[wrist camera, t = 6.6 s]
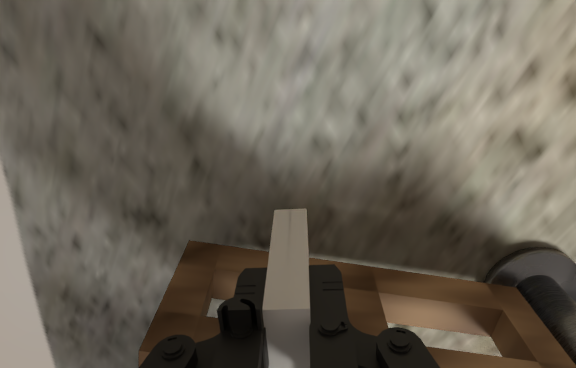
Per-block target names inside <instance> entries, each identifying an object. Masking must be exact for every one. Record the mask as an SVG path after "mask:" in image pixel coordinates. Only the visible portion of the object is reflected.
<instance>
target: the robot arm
mask: <svg viewBox="0 0 576 368" xmlns="http://www.w3.org/2000/svg"><path fill="white" fill-rule="evenodd" d="M217 314H218V320H219V326H220V333H219V334H218V335H216V336H214V337H212V338H210V339H207V340H204V341H200V342H197V343H195V342H194V340H193V339H192V338H191V337H189V336H186V335H172V336H169V337H166V338H165V339H163V340H161V341H159V342H158V343H157V344H156V345H155V346H154V348H153V349H152V350H151V352H150V353H149V354H148V356H147V357H146V359H145V360H144V361H143V363H142V364H141V365H140V367H139V368H440V367H439V365H438V364H437V362H436V361H435V359H434V358H433V357H432V355H431V354H430V352H429V351H428V349H427V348H426V346H425V345H424V344H423V342H422V341H421V339H420V338H419V337H418V336H417V335H416V334H415V333H413V332H411V331H409V330H407V329H403V328H399V327H396V328H388V329H386V330H383V331H382V332H381V333H380V334H379V335H378V336H374V335H370V334H366V333H363V332H361V331H359V330H357V329H356V328H355V327H354V326H352V324H351V323H350V321H349V318H348V313H347V307H346V300H345V294H344V287H343V281H342V274H341V271H340V270H339V269H338V268H337V267H336V265H335V264H326V265H309V249H308V227H307V209H283V210H274V218H273V226H272V234H271V242H270V251H269V259H268V267H266V268H245V269H244V270H243V271H242V273H241V274H240V275H239V276H238V279H237V284H236V288H235V293H234V297H233V298H230V299H228V300H226V301H224V302H223V303H222V304H221V305H220V306H219V308H218V310H217Z"/></svg>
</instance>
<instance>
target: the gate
mask: <svg viewBox="0 0 576 368" xmlns="http://www.w3.org/2000/svg"><path fill="white" fill-rule="evenodd" d="M268 259H269V252H266V251H259V250H252V249H246V248H239V247H232V246H225V245H218V244H211V243H204V242H197V241H190V240H189V242H188V244H187V246H186V249H185V251H184V253H183V255H182V257H181V260H180V262H179V264H178V266H177V268H176V271H175V273H174V275H173V277H172V279H171V281H170V284H169V286H168V288H167V290H166V292H165V295H164V297H163V299H162V301H161V303H160V305H159V308H158V310H157V312H156V314H155V316H154V319H153V321H152V323H151V325H150V327H149V330H148V332H147V334H146V336H145V338H144V340H143V343H142V345H141V347H140V349H139V367H140V365H141V364H142V363H143V361H144V360H145V359H146V357H147V356H148V354H149V353H150V352H151V350H152V349H153V348H154V346H155V345H156V344H157V343H158V342H159V341H161V340H163V339H165V338H166V337H169V336H172V335H186V336H189V337H191V338H192V339H193V340H194V342H195V343H197V342H200V341H204V340H207V339H210V338H212V337H214V336H216V335H218V334H219V333H220V326H219V320H218V318H213V317H206V316H207V312H208V309H209V305H210V302H211V299H212V298H215V299H222V300H228V299H230V298H233V297H234V293H235V288H236V284H237V279H238V276H239V275H240V274H241V273H242V271H243V270H244V269H245V268H266V267H268ZM326 264H335V265H336V267H337V268H338V269H339V270H340V271H341V274H342V281H343V287H344V294H345V300H346V307H347V313H348V318H349V321H350V323H351V324H352V326H354V327H355V328H356V329H357V330H359V331H361V332H363V333H366V334H370V335H374V336H378V335H379V334H380V333H381V332H382V331H383V330H386V329H388V325H387V322H388V323H395V324H403V325H410V326H417V327H424V328H431V329H439V330H446V331H453V332H460V333H468V334H475V335H482V336H489V337H491V338H492V339H493V341H494V343H495V345H496V346H497V348H498V350H499V351H500V353H501V355H502V357H498V356H491V355H483V354H476V353H469V352H461V351H454V350H447V349H439V348H432V347H426V348H427V349H428V351H429V352H430V354H431V355H432V357H433V358H434V359H435V361H436V362H437V364H438V365H439V367H440V368H576V365H575V364H574V362H573V361H572V360H571V358H570V357H569V356H568V355H567V353H566V352H565V351H564V349H563V348H562V347H561V345H560V344H559V343H558V341H557V340H556V339H555V338H554V336H553V335H552V334H551V332H550V331H549V330H548V328H547V327H546V326H545V325H544V323H543V322H542V321H541V319H540V318H539V317H538V315H537V314H536V313H535V312H534V310H533V309H532V308H531V306H530V305H529V304H528V302H527V301H526V300H525V299H524V297H523V296H522V295H521V293H520V292H519V291H518V289H517V288H516V287H509V286H502V285H495V284H489V283H482V282H475V281H468V280H461V279H454V278H447V277H440V276H433V275H426V274H419V273H412V272H405V271H398V270H391V269H384V268H377V267H370V266H364V265H357V264H350V263H343V262H336V261H329V260H322V259H315V258H309V265H326Z"/></svg>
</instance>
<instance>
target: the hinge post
mask: <svg viewBox="0 0 576 368" xmlns="http://www.w3.org/2000/svg"><path fill="white" fill-rule="evenodd" d="M484 283H489V284H495V285H502V286H509V287H516V288H517V289H518V291H519V292H520V293H521V295H522V296H523V297H524V299H525V300H526V301H527V302H528V304H529V305H530V306H531V308H532V309H533V310H534V312H535V313H536V314H537V315H538V317H539V318H540V319H541V321H542V322H543V323H544V325H545V326H546V327H547V328H548V330H549V331H550V332H551V334H552V335H553V336H554V338H555V339H556V340H557V341H558V343H559V344H560V345H561V347H562V348H563V349H564V351H565V352H566V353H567V355H568V356H569V357H570V358H571V360H572V361H573V362H574V364H575V365H576V264H575V263H574V262H573V261H572V260H571V259H570V258H569V257H568V256H567V255H565V254H564V253H562V252H560V251H558V250H555V249H551V248H545V247H535V248H528V249H523V250H520V251H517V252H515V253H512V254H510V255H509V256H507V257H505V258H504V259H502V260H501V261H500V262H498V263H497V264H496V265H495V266H494V267H493V268H492V269H491V271H490V272H489V273H488V275H487V277H486V279H485V281H484Z"/></svg>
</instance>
